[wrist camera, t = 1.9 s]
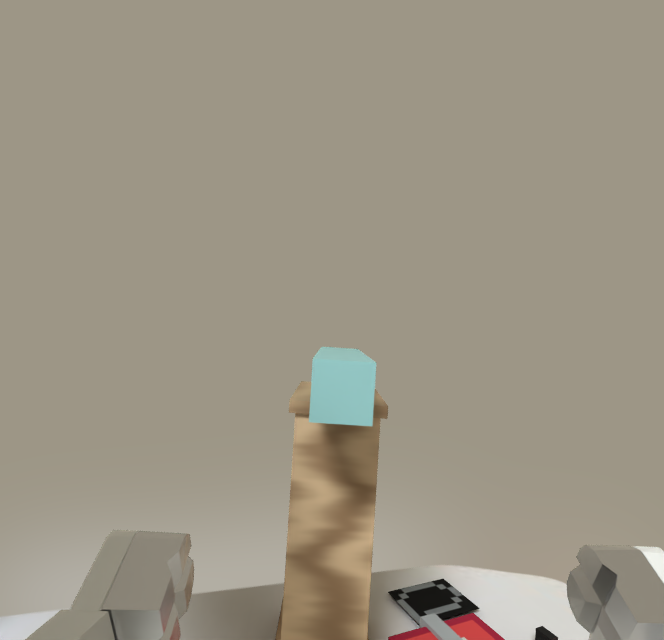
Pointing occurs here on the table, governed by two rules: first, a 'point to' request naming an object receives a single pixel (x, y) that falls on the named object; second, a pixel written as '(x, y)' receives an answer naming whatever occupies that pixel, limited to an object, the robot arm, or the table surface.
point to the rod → (342, 387)
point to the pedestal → (330, 526)
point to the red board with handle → (446, 615)
